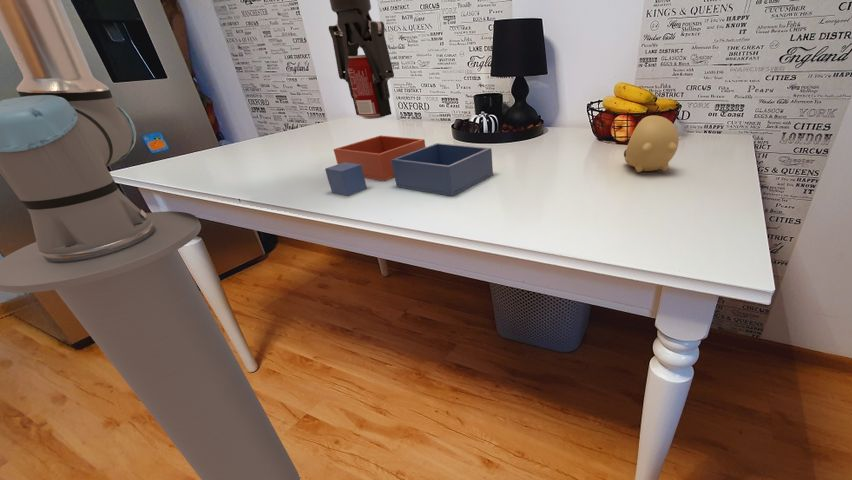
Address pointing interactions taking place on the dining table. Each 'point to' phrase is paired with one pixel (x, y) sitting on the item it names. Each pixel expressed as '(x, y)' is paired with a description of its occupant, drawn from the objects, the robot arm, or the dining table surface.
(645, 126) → the toy pig
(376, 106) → the soda can
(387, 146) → the red bin
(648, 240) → the dining table surface
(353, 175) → the blue block
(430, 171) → the blue bin
